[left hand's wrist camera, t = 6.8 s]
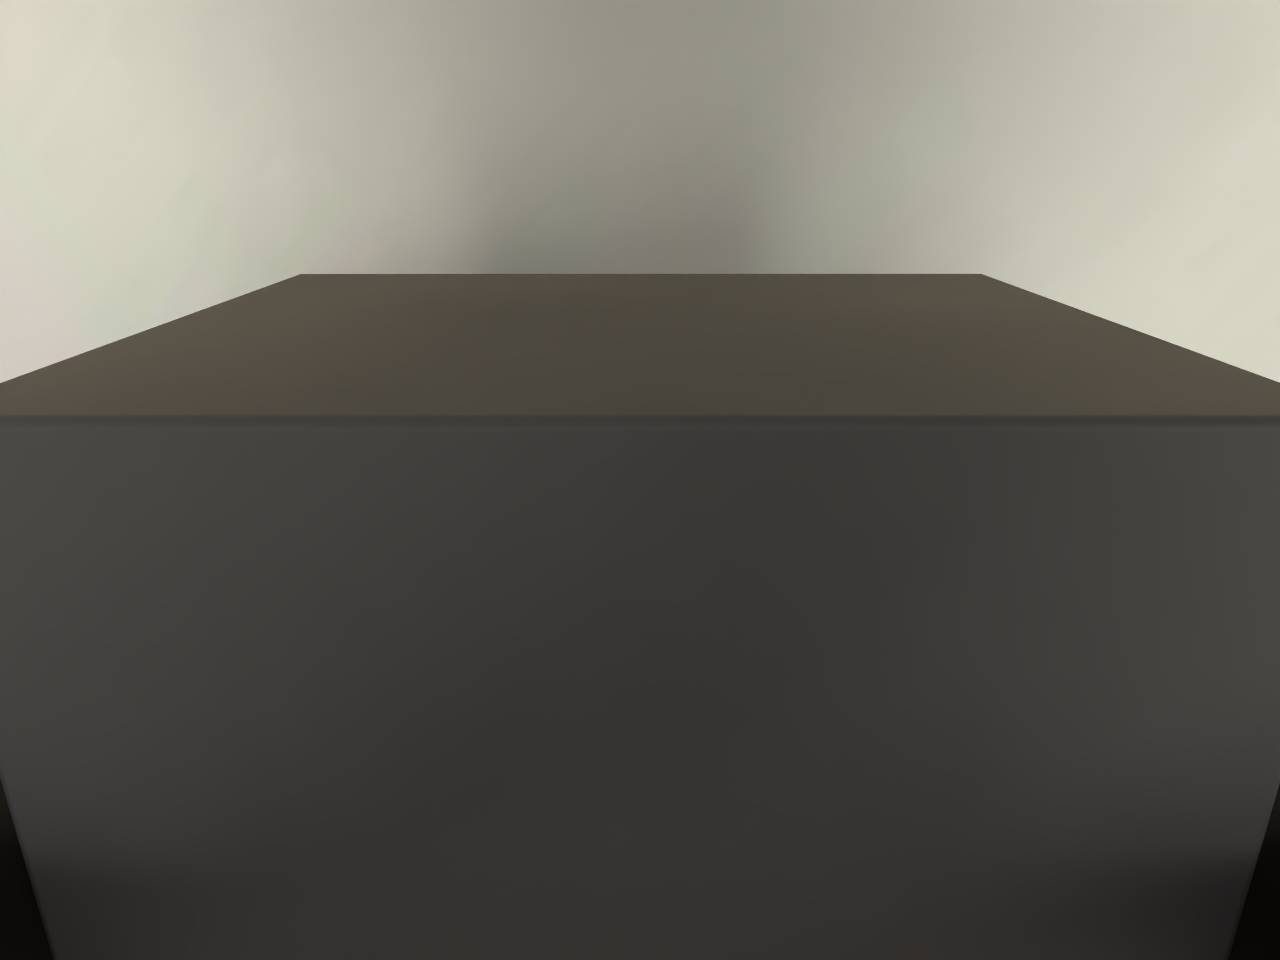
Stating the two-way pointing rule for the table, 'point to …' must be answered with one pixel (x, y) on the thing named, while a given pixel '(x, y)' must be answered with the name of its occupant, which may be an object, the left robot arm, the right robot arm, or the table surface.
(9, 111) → the table surface
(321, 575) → the thick board
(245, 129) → the table surface
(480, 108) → the table surface
